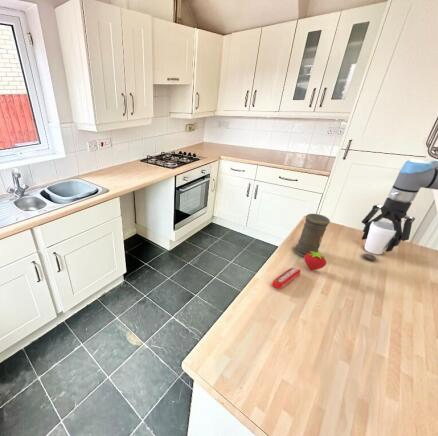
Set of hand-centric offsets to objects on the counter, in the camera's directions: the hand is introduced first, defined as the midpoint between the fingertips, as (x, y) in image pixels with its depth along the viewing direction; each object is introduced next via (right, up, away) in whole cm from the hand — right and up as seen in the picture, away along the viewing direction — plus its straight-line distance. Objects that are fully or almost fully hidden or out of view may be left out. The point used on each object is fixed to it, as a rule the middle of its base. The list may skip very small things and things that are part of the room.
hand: (375, 244), depth 109 cm
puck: (-6, -6, -4) cm, 9 cm away
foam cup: (0, -3, +2) cm, 3 cm away
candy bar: (-49, -13, -14) cm, 52 cm away
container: (-31, -4, +1) cm, 31 cm away
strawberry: (-36, -10, -9) cm, 38 cm away
